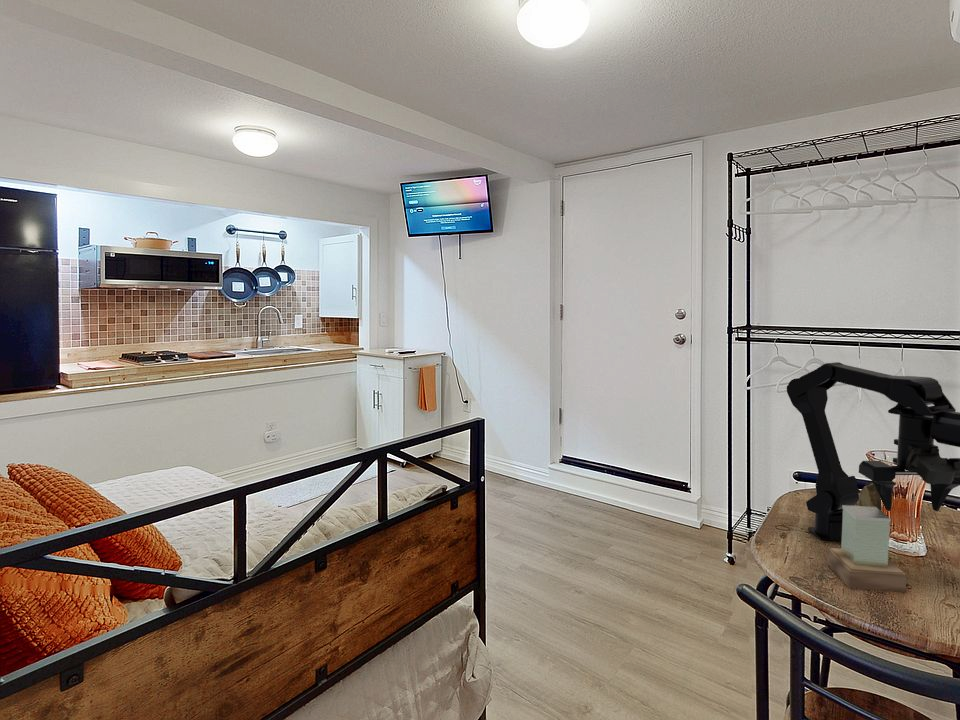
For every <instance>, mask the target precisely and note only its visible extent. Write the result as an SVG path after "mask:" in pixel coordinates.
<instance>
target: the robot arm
mask: <svg viewBox="0 0 960 720" xmlns="http://www.w3.org/2000/svg"><path fill="white" fill-rule="evenodd" d="M837 383H841V384H845V385H848V386H853V387H856V388H861V389H863V390H867V391H872V392H875V393H879V394H881V395H884V396H885V397H886V398H888V399H889V400H890V401H892V402H895V403H896V404H895V406H893V407H891V408H890V409H888V410H887V412H888V413H889V414H893V415H896V416H897V415H898V416H899V417H898V438H895V439H893V444H894V445H895V446H897V456H896V457H892V463H893V464H896V465H889V464H888V463H886V462H883V461H882V460H862V461H861V462H860V463H859V465H858V473H859V474H860V475H862V476H864V477H865V478H867V479H869V480H871V482H872V483H873V484H874V485H875V487H876V489H877V491H878V493H879V495H880V498H881V500H882V502H883V504H884V506H885V508H886V510H888V511H891V512H892V505H893V488H894V487H895V486H896V485H897V482H895V481H893V480H895V479H896V477H897V476H919V477H921V479H922V481H923V482H924V483H926V484H928V485H930V499H931V500H930V502H931V503H930V504H931V507H932V510H933V511H935V512H939V510H940V509H941V507H942V505H944V502H945V501H946V499H947V497H948V495H949V494H950V492H951V491H952V490H953V489H955V488H957V487H959V486H960V457H949V458H947V457H941V455H940V449H939V446H937V444H936V445H935V444H934V443H935V442H937V443H938V444H941V445H948V446H951V447H956V448H960V411H959V412H958V411H957V410H956V408H955V407H954V406H953V404H952V403H951V401H950V400H949V399H948V397H947V396H946V395H945V393H944V391H943V388H942V385H941V384H940V383H939V381H938V380H937V379H935V378H934V377H929V376H913V375H891V374H887V373H884V372H883V373H882V372H878V371H875V370H868V369H865V368H861V367H857V366H851V365H848V364H844V363H841V362H838V361H837V362H826V363H823V364H822V365H820V366H819V367H817V368H816V369H814V370H812V371H810V372H808V373H806V374H803V375H802V376H800V377H799V378H798V377H797V378H793V379H791V380H790V381H789V383H788V384H787V385H786V394H787V396H788V398H789V400H790V402H791V405H792V406H793V407H794V408H795V410H797V411H798V413H800V414H801V416H802V419H803V423H804V426H805V429H806V430H805V431H806V433H807V437H808V440H809V443H810V447H811V451H812V455H813V457H814V462H815V465H816V468H817V471H818V472H817V473H818V474H817V478H816V481H815V493H816V495H814V496H813V497H810V499H808V500H806V501H805V504H806V508H807V510H808V511H809V512H811V513H814V526H808V527H807V529H808V531H810V532H811V533H812V534H813V535H815V537H817V538H818V539H819V540H820V541H842V521H843V508H842V505H846V506H857V503H859V498H860V497H859V496H860V493H861V490H860V489H859V487H858V483H857V478H856V476H855V475H848V474H847V473H846V472H845V471H844V470H843V468H842V465H841V461H840V458H839V454H838V451H837V448H836V447H837V446H836V444H835V440H834V438H833V434H832V431H831V428H830V425H829V420H828V418H827V414H826V407H827V402H828V399H829V397H828V391H829V389H831V388H833V387H834V386H835V385H836V384H837Z"/></svg>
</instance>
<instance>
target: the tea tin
mask: <svg viewBox="0 0 960 720" xmlns="http://www.w3.org/2000/svg"><path fill="white" fill-rule="evenodd" d="M842 508H843V521H842V540H841V547H840V549H841V551H842V553H843V554H844V555H845V556H846V557H847V558H848V559H849V560H850V561H851V562H852V563H853V564H854V565H865V566H879V567H888V559H889V546H890V545H889V544H890V528H891V527H890V526H891V525H890V522H891V518H889V517H888V516H887V515H885V514H884V513H883V512H882V511H880V510H879V509H878V508H876V507H866V506H860V505H854V506H846V505H842Z"/></svg>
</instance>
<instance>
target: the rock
mask: <svg viewBox="0 0 960 720" xmlns="http://www.w3.org/2000/svg"><path fill="white" fill-rule="evenodd" d="M860 492H861V493H859V501H858V504H859V505H858V506H866V507H876V508H878V509H879V510H880V511H881V499H880V495H879V493H878V491H877V489H876V487H875V485H874V484H873V482H872V483H870V484H867V485H865V486H863V488H862V489H861V490H860Z"/></svg>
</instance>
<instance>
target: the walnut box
mask: <svg viewBox="0 0 960 720" xmlns="http://www.w3.org/2000/svg"><path fill="white" fill-rule="evenodd" d="M826 559H827V560H826V563H827V564H828V565H829V566H830V567H831V568H832V569H831V568H830V567H829V566H828V565H827V566H828V567H829V568H830V569H831V570H832V571H833V570H834V571H833V572H834V573H835V574H836V576H837V577H838V576H839V577H840V578H841V579H842V580H843V581H844V582H843V581H842V580H841V579H840V578H839V577H838V578H839V579H840V580H841V581H842V582H843V583H844V584H845V586H847V588H848V589H852V588H857V589H856V590H871V591H886V592H887V591H889V592H902V593H906V591H907V575H908V574H907V573H906V572H904V571H903V570H902V569H901V568H900V567H898V566H897V565H896V564H895V563H894V562H892V560H890V559H889V558H888V567H879V566H865V565H854V564H853V563H852V562H851V561H850V560H849V559H848V558H847V557H846V556H845V555H844V554H843V553H842V551H841V548H835V547H830V548H829V547H828V548H827V558H826Z"/></svg>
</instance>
